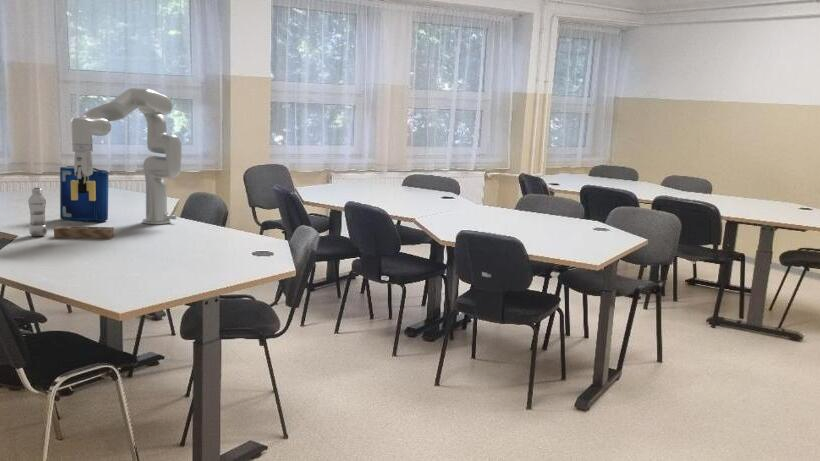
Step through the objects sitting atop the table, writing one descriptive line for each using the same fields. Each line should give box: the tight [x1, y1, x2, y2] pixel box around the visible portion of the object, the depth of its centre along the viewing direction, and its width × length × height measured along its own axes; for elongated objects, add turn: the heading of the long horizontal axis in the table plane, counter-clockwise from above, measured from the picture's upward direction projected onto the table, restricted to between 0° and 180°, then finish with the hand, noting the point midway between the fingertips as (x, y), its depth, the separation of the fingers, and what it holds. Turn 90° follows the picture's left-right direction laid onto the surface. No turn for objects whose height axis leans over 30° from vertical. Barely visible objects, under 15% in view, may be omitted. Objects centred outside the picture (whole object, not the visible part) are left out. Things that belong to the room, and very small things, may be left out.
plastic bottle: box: [27, 187, 48, 237], centre depth 297 cm, size 6×7×20 cm
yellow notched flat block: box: [71, 180, 96, 201], centre depth 298 cm, size 9×2×8 cm, turn 99°
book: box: [59, 165, 109, 223], centre depth 336 cm, size 22×7×25 cm, turn 84°
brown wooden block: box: [53, 225, 115, 240], centre depth 301 cm, size 22×6×4 cm, turn 99°
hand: (83, 192), depth 298 cm, fingers closed on yellow notched flat block, 2 cm apart
